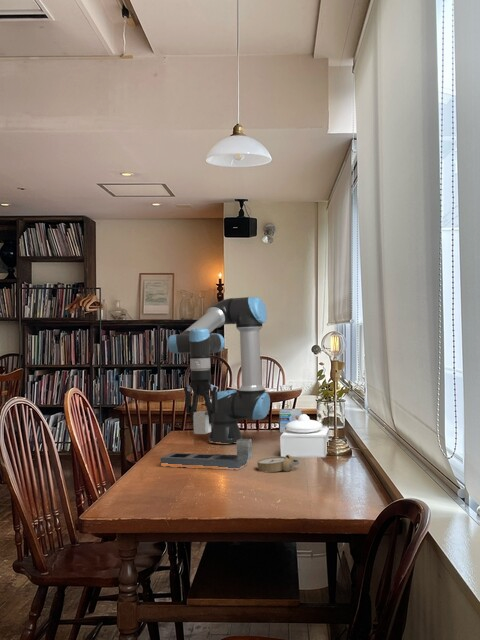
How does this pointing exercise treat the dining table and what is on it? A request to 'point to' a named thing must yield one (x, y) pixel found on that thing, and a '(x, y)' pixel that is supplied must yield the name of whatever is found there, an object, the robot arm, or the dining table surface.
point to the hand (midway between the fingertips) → (202, 432)
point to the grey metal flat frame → (205, 459)
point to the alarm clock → (277, 464)
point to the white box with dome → (304, 438)
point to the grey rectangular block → (200, 422)
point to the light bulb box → (288, 417)
